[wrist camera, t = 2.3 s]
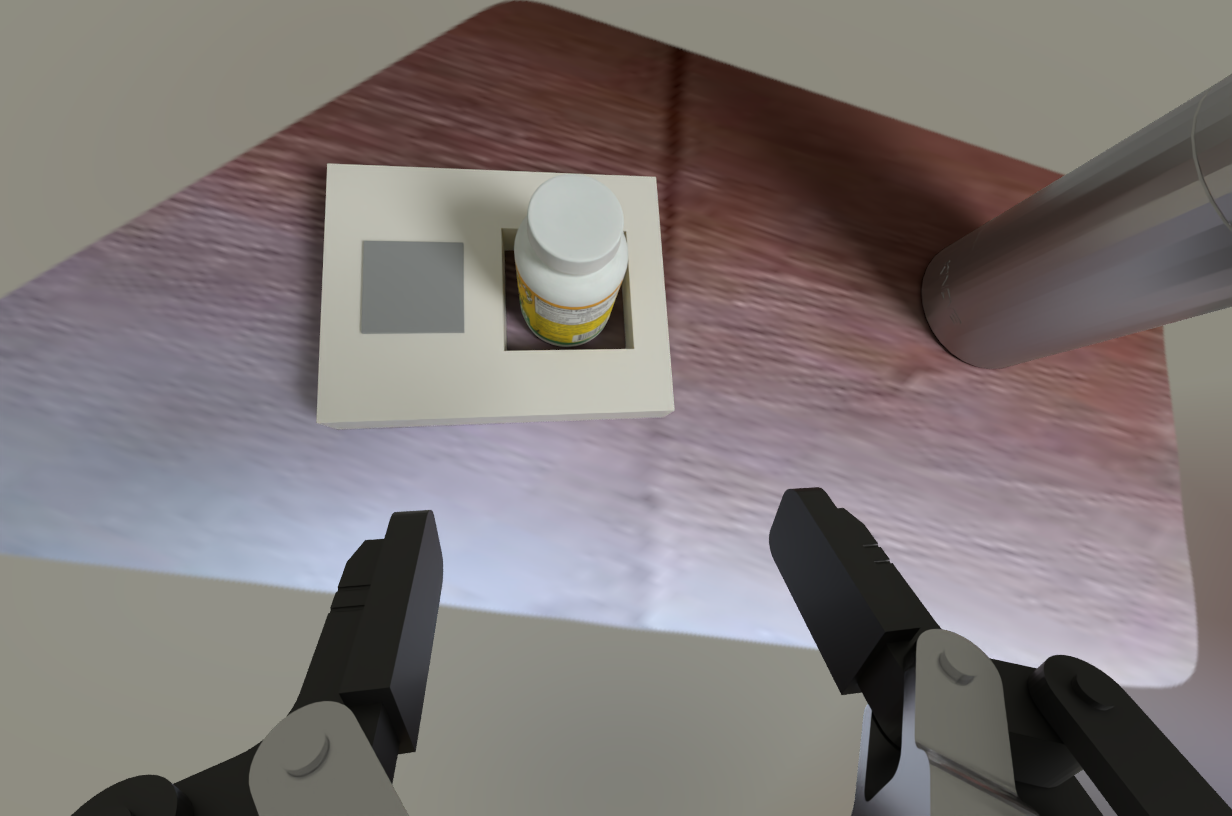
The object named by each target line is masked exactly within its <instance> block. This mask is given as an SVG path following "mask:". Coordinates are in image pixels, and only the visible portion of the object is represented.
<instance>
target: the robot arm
mask: <svg viewBox="0 0 1232 816" xmlns="http://www.w3.org/2000/svg"><path fill="white" fill-rule="evenodd" d="M922 304H923V308H924V312H925V315H926V319H927V321H928V323H929V325H930V327H931V329H932V331H933V332H934V334H935V335H936V337H937V338H938V339H939V341H940V342H941V343H942V344H943V345H944V346H945V347H946V348H947V349H948V350H949V351H950V352H951V353H952V354H953V355H955V356H956V357H958V358H959V359H961V360H962V361H964V362H966V363H969V364H971V365H974V366H976V367H981V368H986V369H1002V368H1005V367H1009V366H1013V365H1017V364H1020V363H1024V362H1028V361H1032V360H1035V359H1039V358H1043V357H1047V356H1050V355H1054V354H1058V353H1062V352H1066V351H1070V350H1074V349H1078V348H1081V347H1085V346H1089V345H1092V344H1096V343H1100V342H1103V341H1107V340H1111V339H1115V338H1118V337H1122V336H1126V335H1129V334H1133V333H1137V332H1140V331H1144V330H1148V329H1152V328H1155V327H1159V326H1163V325H1166V324H1169V323H1174V322H1177V321H1181V320H1184V319H1188V318H1192V317H1195V316H1200V315H1203V314H1207V313H1211V312H1214V311H1218V310H1222V309H1225V308H1229V307H1232V74H1231V75H1229V76H1227V77H1226V78H1224V79H1223V80H1221V81H1220V82H1218V83H1217V84H1215V85H1213V86H1211V87H1210V88H1208V89H1207V90H1205V91H1203V92H1202V93H1200V94H1198V95H1197V96H1195V97H1193V98H1192V99H1190V100H1188V101H1187V102H1185V103H1183V104H1182V105H1180V106H1179V107H1177V108H1175V109H1174V110H1172V111H1170V112H1169V113H1167V114H1165V115H1164V116H1162V117H1160V118H1159V119H1157V120H1155V121H1154V122H1152V123H1150V124H1149V125H1147V126H1146V127H1144V128H1142V129H1141V130H1139V131H1137V132H1136V133H1134V134H1132V135H1131V136H1129V137H1128V138H1126V139H1124V140H1122V141H1121V142H1119V143H1118V144H1116V145H1114V146H1113V147H1111V148H1109V149H1108V150H1106V151H1105V152H1103V153H1101V154H1100V155H1098V156H1096V157H1094V158H1093V159H1091V160H1090V161H1088V162H1086V163H1085V164H1083V165H1081V166H1080V167H1078V168H1076V169H1075V170H1073V171H1072V172H1070V173H1068V174H1066V175H1065V176H1063V177H1062V178H1060V179H1058V180H1057V181H1055V182H1053V183H1052V184H1050V185H1048V186H1047V187H1045V188H1043V189H1042V190H1040V191H1038V192H1037V193H1035V194H1034V195H1032V196H1030V197H1029V198H1027V199H1025V200H1024V201H1022V202H1020V203H1019V204H1017V205H1015V206H1014V207H1012V208H1010V209H1009V210H1007V211H1006V212H1004V213H1002V214H1001V215H999V216H997V217H995V218H994V219H992V220H990V221H989V222H987V223H985V224H984V225H982V226H981V227H979V228H977V229H976V230H974V231H972V232H971V233H969V234H967V235H966V236H964V237H962V238H961V239H959V240H958V241H956V242H954V243H953V244H951V245H949V246H948V247H946V248H944V249H943V250H942V251H940V252H939V253H938V254H937V255H936V256H935V257H934V258H933V259H932V261H931V262H930V264H929V265H928V267H927V269H926V272H925V275H924V277H923V284H922ZM769 545H770V551H771V554H772V557H773V559H774V561H775V563H776V565H777V567H778V569H779V571H780V573H781V575H782V577H783V579H784V581H785V583H786V585H787V587H788V589H789V591H790V593H791V595H792V597H793V599H794V601H795V603H796V605H797V607H798V609H799V611H800V613H801V615H802V617H803V619H804V621H805V623H806V625H807V627H808V629H809V631H810V633H811V635H812V637H813V639H814V641H815V643H816V645H817V647H818V649H819V651H820V653H821V655H822V657H823V659H824V661H825V663H826V665H827V667H828V669H829V671H830V673H831V675H832V677H833V679H834V681H835V683H836V685H837V687H838V689H839V691H840V693H841V695H847V694H854V693H861V692H862V693H863V695H864V697H865V699H866V701H867V703H868V705H867V706H866V708H865V711H864V716H863V726H862V735H861V745H860V755H859V764H858V773H857V782H856V792H855V801H854V806H853V810H852V814H851V816H1103V815H1102V813H1101V812H1100V811H1099V809H1098V808H1097V807H1096V805H1095V804H1094V802H1093V801H1092V800H1091V798H1090V797H1089V795H1088V794H1087V793H1086V791H1085V790H1084V788H1083V787H1082V786H1081V784H1080V783H1079V782H1078V780H1077V779H1076V777H1075V776H1074V775H1075V774H1077V773H1078V772H1080V771H1082V770H1084V771H1085V772H1086V774H1087V775H1088V776H1089V778H1090V779H1091V780H1092V782H1093V783H1094V784H1095V786H1096V787H1097V788H1098V790H1099V791H1100V792H1101V794H1102V795H1103V797H1104V798H1105V799H1106V801H1107V802H1108V803H1109V805H1110V806H1111V807H1112V809H1113V810H1114V811H1115V813H1116V814H1117V815H1118V816H1232V809H1231V808H1230V807H1229V806H1228V805H1227V804H1226V803H1225V802H1224V800H1223V799H1222V798H1221V797H1220V796H1219V795H1218V794H1217V793H1216V791H1215V790H1214V789H1213V788H1212V787H1211V786H1210V785H1209V784H1208V783H1207V782H1206V780H1205V779H1204V778H1203V777H1202V776H1201V775H1200V774H1199V773H1198V772H1197V770H1196V769H1195V768H1194V767H1193V766H1192V765H1191V764H1190V763H1189V762H1188V760H1187V759H1186V758H1185V757H1184V756H1183V755H1182V754H1181V753H1180V752H1179V750H1178V749H1177V748H1176V747H1175V746H1174V745H1173V744H1172V743H1171V742H1170V740H1169V739H1168V738H1167V737H1166V736H1165V735H1164V734H1163V733H1162V732H1161V731H1160V730H1159V728H1158V727H1157V726H1156V725H1155V724H1154V723H1153V722H1152V721H1151V719H1150V718H1149V717H1148V716H1147V715H1146V714H1145V713H1144V712H1143V711H1142V709H1141V708H1140V707H1139V706H1138V705H1137V704H1136V703H1135V702H1134V701H1133V700H1132V698H1131V697H1130V696H1129V695H1128V694H1127V693H1126V692H1125V691H1124V690H1123V689H1122V688H1121V687H1120V685H1119V684H1117V683H1116V682H1115V681H1114V680H1113V679H1112V678H1111V677H1109V676H1108V675H1107V674H1105V673H1104V672H1102V671H1101V670H1099V669H1098V668H1096V667H1095V666H1093V665H1091V664H1089V663H1087V662H1085V661H1083V660H1080V659H1078V658H1075V657H1071V656H1066V655H1055V656H1051V657H1049V658H1048V659H1047V660H1046V661H1045V662H1044V663H1043V664H1041V665H1040V666H1039V667H1038V668H1032V667H1027V666H1023V665H1018V664H1013V663H1009V662H1004V661H1000V660H995V659H991V658H989V657H988V656H987V655H986V654H985V653H984V652H983V651H982V650H981V649H980V648H978V647H977V646H976V645H975V644H973V643H972V642H971V641H969V640H967V639H966V638H964V637H962V636H960V635H958V634H956V633H953V632H951V631H947V630H943V629H941V628H940V626H939V625H938V624H937V623H936V622H935V620H934V619H933V617H932V616H931V615H930V613H929V612H928V611H927V609H926V608H925V607H924V605H923V604H922V603H921V601H920V600H919V598H918V597H917V596H916V594H915V593H914V592H913V590H912V589H911V588H910V586H909V585H908V583H907V582H906V581H905V579H904V578H903V577H902V575H901V574H900V573H899V571H898V570H897V569H896V567H895V566H894V564H893V563H890V561H889V558H888V556H887V555H886V554H885V552H884V551H883V550H882V548H881V547H878V543H877V541H876V540H875V539H874V537H873V536H872V535H871V533H870V532H869V530H868V529H867V528H866V526H865V525H864V524H863V523H862V522H860V521H859V520H858V519H857V518H855V517H854V516H853V515H852V514H850V513H849V512H848V511H847V510H845V509H844V508H837V507H836V506H835V504H834V503H833V502H832V500H831V499H830V497H829V496H828V494H827V493H826V492H825V491H824V490H823V489H822V488H819V487H814V488H798V489H788V490H786V491H785V493H784V495H783V497H782V500H781V503H780V505H779V508H778V511H777V514H776V516H775V519H774V522H773V524H772V527H771V530H770V534H769ZM442 582H443V557H442V552H441V547H440V542H439V537H438V532H437V528H436V523H435V518H434V514H433V511H432V510H422V511H406V512H394V513H393V514H392V516H391V518H390V521H389V525H388V528H387V531H386V535H385V538H384V539H375V540H365V541H364V542H363V544H362V545H361V546H360V547H359V548H358V549H357V551H356V552H355V553H354V554H353V555H352V557H351V558H350V559H349V560H348V561H347V563H346V566H345V568H344V571H343V574H342V577H341V580H340V582H339V585H338V592H336V594H335V596H334V599H333V602H332V605H331V611H330V613H329V614H328V616H327V619H326V621H325V624H324V627H323V630H322V633H321V636H320V638H319V641H318V644H317V647H316V650H315V652H314V655H313V658H312V661H311V664H310V666H309V669H308V672H307V675H306V678H305V680H304V683H303V686H302V688H301V691H300V694H299V696H298V698H297V701H296V703H295V704H294V706H293V708H292V709H291V711H290V712H289V714H288V715H287V717H286V718H284V719H283V720H282V721H280V722H279V723H278V724H277V725H276V726H275V727H274V728H273V729H272V730H271V731H270V733H269V734H268V735H267V736H266V737H265V739H264V740H263V741H261V742H260V743H258V744H257V745H255V746H254V747H252V748H251V749H249V750H248V751H246V752H244V753H242V754H240V755H238V756H236V757H234V758H231V759H229V760H227V761H225V762H222V763H220V764H218V765H215V766H213V767H211V768H208V769H206V770H204V771H202V772H199V773H197V774H195V775H192V776H190V777H188V778H186V779H183V780H181V781H179V782H177V783H174V784H172V783H171V782H170V781H168V780H167V779H166V778H164V777H161V776H158V775H141V776H136V777H132V778H128V779H126V780H124V781H121V782H118V783H116V784H114V785H112V786H110V787H109V788H107V789H105V790H104V791H102V792H100V793H99V794H97V795H96V796H94V797H93V798H91V799H90V800H89V801H87V802H86V803H85V804H84V805H82V806H81V807H80V808H79V809H78V810H77V811H76V812H74V814H72V815H71V816H409V815H408V813H407V811H406V810H405V808H404V806H403V804H402V802H401V800H400V798H399V796H398V795H397V793H396V791H395V789H394V787H393V785H392V783H393V778H394V772H395V767H396V761H397V756H398V754H404V753H411V752H415V751H416V746H417V740H418V733H419V726H420V721H421V714H422V708H423V702H424V695H425V689H426V682H427V676H428V671H429V664H430V658H431V651H432V646H433V639H434V633H435V626H436V620H437V614H438V608H439V602H440V595H441V589H442Z"/></svg>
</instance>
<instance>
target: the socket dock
mask: <svg viewBox="0 0 1232 816" xmlns="http://www.w3.org/2000/svg"><path fill="white" fill-rule="evenodd" d="M563 174H569V173H545V172H520V171H496V170H471V169H447V168H423V167H398V166H374V165H349V164H327V184H326V208H325V232H324V255H323V279H322V303H321V326H320V350H319V374H318V397H317V421H316V423H318V424H321V425H324V426H328V427H331V428H334V429H337V430H340V429H367V428H394V427H420V426H447V425H474V424H501V423H528V422H554V421H581V420H608V419H635V418H661V417H665V416H666V415H668V414H670V413H671V412H673V411H674V398H673V386H672V373H671V360H670V348H669V335H668V323H667V310H666V298H665V285H664V272H663V260H662V247H661V235H660V222H659V210H658V197H657V185H656V177H642V176H618V175H593V174H580V175H585V176H589V177H591V178H594V179H596V180H598V181H600V182H601V183H602V184H604V185H605V186H606V187H608V188H609V189H610V190H611V191H612V192H613V194H614V195H615V196H616V198H617V200H618V201H619V203H620V205H621V208H622V212H623V217H624V227H623V233H624V235H625V238H626V242H627V246H628V264H627V269H626V272H625V275H624V278H623V281H622V297H623V313H624V328H625V344H626V349H596V350H529V351H507V328H506V285H505V250H514V244H515V238H516V234H517V231H518V228H519V226H520V224H521V223H522V221H523V219H524V218H525V217H526V216H527V211H528V205H529V202H530V199H531V197H532V195H533V193H534V192H535V191H536V189H537V188H538V187H539V186H540V185H541V184H543V183H544V182H545V181H547V180H548V179H550V178H553V177H555V176H558V175H563Z"/></svg>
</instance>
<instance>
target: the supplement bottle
mask: <svg viewBox="0 0 1232 816" xmlns="http://www.w3.org/2000/svg"><path fill="white" fill-rule="evenodd" d="M623 227H624V217H623V212H622V208H621V205H620V203H619V201H618V200H617V198H616V196H615V195H614V194H613V192H612V191H611V190H610V189H609V188H608V187H606V186H605V185H604V184H602V183H601V182H600V181H598V180H596V179H594V178H591V177H589V176H585V175H580V174H563V175H558V176H555V177H553V178H550V179H548V180H547V181H545V182H544V183H543V184H541V185H540V186H539V187H538V188H537V189H536V191H535V192H534V193H533V195H532V197H531V199H530V202H529V205H528V211H527V216H526V217H525V218H524V219H523V221H522V223H521V224H520V226H519V228H518V231H517V234H516V238H515V244H514V255H515V265H516V273H517V281H518V290H519V299H520V306H521V311H522V314H523V316H524V319H525V321H526V323H527V325H528V326H529V328H530V329H531V331H532V332H533V333H534V334H535V335H536V336H537V337H539V338H540V339H541V340H543V341H545V342H547V343H549V344H552V345H556V346H561V347H573V346H578V345H582V344H584V343H587V342H589V341H590V340H592V339H593V338H595V337H596V336H597V335H598V334H599V333H600V332H601V331H602V330H603V328H604V327H605V325H606V323H607V321H608V319H609V317H610V313H611V311H612V308H613V305H614V302H615V299H616V297H617V294H618V291H619V289H620V286H621V284H622V281H623V278H624V275H625V272H626V269H627V264H628V246H627V242H626V238H625V235H624V233H623Z"/></svg>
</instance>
